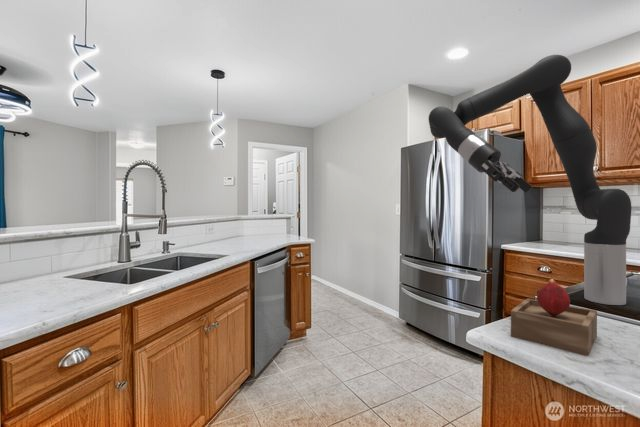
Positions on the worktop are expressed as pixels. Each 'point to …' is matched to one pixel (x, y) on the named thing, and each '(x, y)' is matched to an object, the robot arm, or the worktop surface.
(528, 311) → the brown wooden box
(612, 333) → the worktop surface
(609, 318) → the worktop surface
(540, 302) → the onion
